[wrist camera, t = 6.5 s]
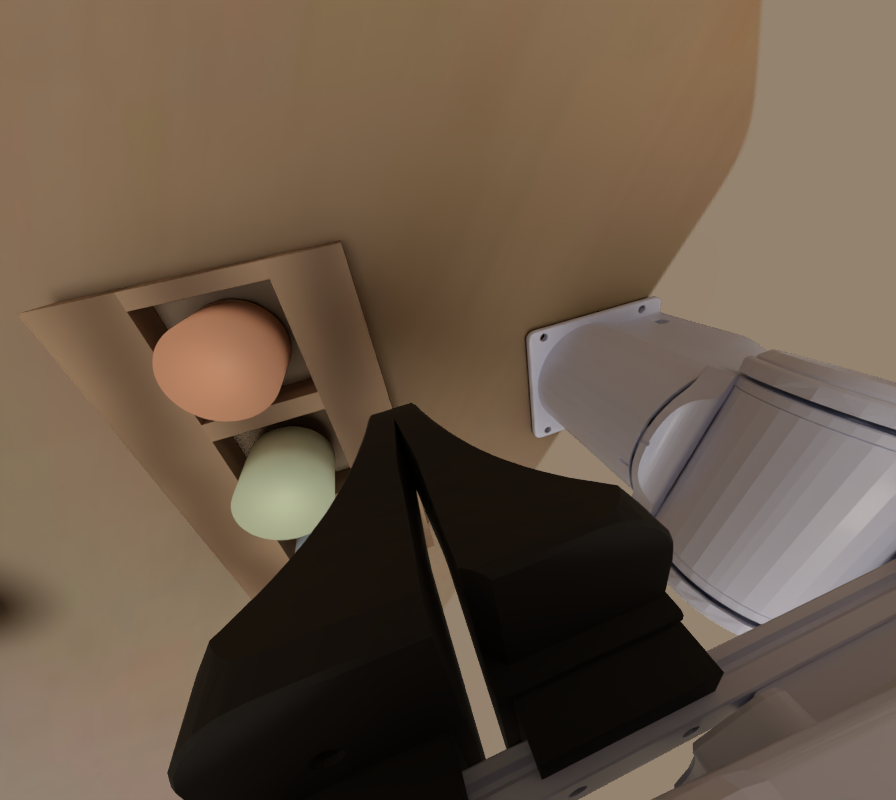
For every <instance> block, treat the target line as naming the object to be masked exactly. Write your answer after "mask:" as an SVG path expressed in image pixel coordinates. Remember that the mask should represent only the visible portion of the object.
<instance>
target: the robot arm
mask: <svg viewBox="0 0 896 800" xmlns="http://www.w3.org/2000/svg"><path fill="white" fill-rule="evenodd" d="M640 306H641V308H640ZM639 308H640V310H639ZM660 308H661V300H660V298H658V297H649V298H646V299H642V300H639V301H635V302H632V303H628V304H625V305H621V306H618V307H614V308H611V309H607V310H604V311H600V312H597V313H593V314H590V315H586V316H583V317H579V318H576V319H572V320H569V321H565V322H562V323H558V324H555V325H551V326H548V327H544V328H541V329H537V330H534V331H531V332H530V333H529V334H528V336H527V339H526V342H527V357H528V371H529V385H530V400H531V414H532V429H533V434H534V435H535V436H536V437H538V438H541V437H544V436H547V435H550V434H553V433H556V432H559V431H562V430H565V429H566V430H567V431H568V432H569V433H570V434H572V435H573V436H574V437H575V438H576V439H577V440H578V441H579V442H580V443H582V444H583V445H584V446H585V447H586V448H587V449H588V450H589V451H590V452H591V453H593V454H594V455H595V456H596V457H597V458H598V459H599V460H600V461H602V463H604V464H605V465H606V466H607V467H608V468H609V469H610V470H611V471H613V472H614V473H615V474H616V475H617V476H618V477H619V478H620V479H621V480H622V481H624V482H625V483H626V484H627V485H628V486H629V487H630V488H631V489H632V490H633V495H632V497H631V496H630V495H629V494H627V493H626V492H625V491H624V490H622V489H621V488H620V487H619V486H617V485H611V484H605V483H599V482H593V481H587V480H580V479H574V478H568V477H564V476H559V475H555V474H551V473H546V472H542V471H539V470H535V469H531V468H528V467H524V466H521V465H518V464H515V463H512V462H509V461H507V460H504V459H501V458H498V457H496V456H493V455H491V454H489V453H486V452H484V451H482V450H480V449H478V448H476V447H474V446H472V445H470V444H468V443H466V442H465V441H463V440H461V439H460V438H458V437H456V436H455V435H453V434H452V433H450V432H448V431H447V430H446V429H444V428H443V427H441V426H440V425H438V424H437V423H436V422H434V421H433V420H432V419H431V418H429V417H428V416H427V415H426V414H424V413H423V412H422V411H421V410H420V409H419V408H418V407H417V406H416V405H414V404H412V403H410V404H406V405H403V406H400V407H396V408H393V409H390V410H387V411H383V412H380V413H377V414H373V415H371V416H370V418H369V420H368V424H367V428H366V431H365V434H364V437H363V440H362V443H361V446H360V448H359V451H358V453H357V456H356V458H355V461H354V463H353V465H352V467H351V469H350V471H349V473H348V475H347V477H346V479H345V481H344V483H343V485H342V487H341V489H340V491H339V492H338V494H337V496H336V498H335V499H334V501H333V502H332V504H331V506H330V507H329V509H328V510H327V512H326V513H325V515H324V516H323V518H322V519H321V520H320V522H319V523H318V524H317V526H316V527H315V528H314V530H313V531H312V532H311V534H310V535H309V536H308V538H307V539H306V540H305V542H304V543H303V544H302V545H301V547H300V548H299V549H298V550H297V551H296V553H295V554H294V555H293V556H292V557H291V558H290V560H289V561H288V562H287V563H286V564H285V565H284V566H283V568H282V569H281V570H280V571H279V572H278V573H277V574H276V575H275V576H274V577H273V579H272V580H271V581H270V582H269V583H268V584H267V585H266V586H265V587H264V588H263V589H262V590H261V591H260V592H259V593H258V594H257V595H256V596H255V597H254V598H253V599H252V600H251V601H250V602H249V603H248V604H247V605H246V606H245V607H244V608H243V609H242V610H241V611H240V612H239V613H238V614H237V615H236V616H235V617H234V618H233V619H232V620H231V621H230V622H229V623H228V624H227V625H226V626H225V627H224V628H223V629H222V630H221V631H220V632H218V633H217V634H216V635H215V636H214V637H213V638H212V639H211V640H210V641H209V644H208V646H207V649H206V652H205V654H204V657H203V660H202V662H201V665H200V668H199V670H198V673H197V676H196V679H195V682H194V686H193V689H192V692H191V696H190V699H189V702H188V706H187V709H186V712H185V716H184V719H183V722H182V726H181V729H180V732H179V736H178V739H177V742H176V746H175V749H174V752H173V756H172V759H171V762H170V766H169V769H168V772H167V773H168V777H169V781H170V784H171V788H172V789H173V790H174V791H175V793H176V794H177V795H179V796H180V797H181V798H182V799H184V800H578V799H580V798H582V797H584V796H586V795H588V794H589V793H591V792H593V791H595V790H597V789H599V788H601V787H603V786H604V785H606V784H608V783H610V782H612V781H614V780H616V779H618V778H619V777H621V776H623V775H625V774H627V773H629V772H631V771H632V770H634V769H636V768H638V767H640V766H642V765H644V764H646V763H648V762H649V761H651V760H653V759H655V758H657V757H659V756H661V755H663V754H664V753H666V752H668V751H670V750H672V749H674V748H676V747H677V746H679V745H681V744H683V743H685V742H687V741H689V740H691V739H693V738H694V737H696V736H698V735H700V734H702V733H704V732H706V731H708V730H709V729H711V728H712V729H711V730H710V731H708V732H707V733H706V734H704V735H703V736H702V737H700V738H699V739H698V740H696V741H695V742H694V743H693V754H694V757H693V760H692V762H691V764H690V766H689V768H688V769H687V771H685V773H684V774H683V775H682V776H681V777H680V779H679V780H678V781H677V782H676V783H675V786H674V787H675V788H674V789H673V790H670V791H668V792H666V793H664V794H662V795H660V796H658V797H656V798H654V799H652V800H896V382H893V381H889V380H886V379H882V378H879V377H876V376H872V375H868V374H864V373H861V372H858V371H854V370H851V369H847V368H843V367H840V366H836V365H832V364H829V363H825V362H821V361H817V360H814V359H810V358H806V357H803V356H799V355H794V354H791V353H787V352H783V351H778V350H769V351H766V350H765V349H764V348H763V347H762V346H760V345H759V344H757V343H756V342H754V341H753V340H751V339H749V338H747V337H744V336H741V335H738V334H734V333H731V332H727V331H724V330H720V329H717V328H713V327H710V326H706V325H703V324H699V323H696V322H692V321H688V320H685V319H681V318H678V317H674V316H671V315H667V314H664V313H660ZM638 310H639V311H638ZM542 334H544V338H543V339H542V340H540V337H541V335H542ZM547 427H548V428H547ZM546 428H547V429H546ZM545 429H546V430H545ZM416 490H417V491H416ZM417 493H418V495H419V497H420V500H421V502H422V504H423V507H424V509H425V511H426V514H427V516H428V518H429V521H430V523H431V525H432V528H433V530H434V532H435V535H436V537H437V539H438V542H439V544H440V546H441V549H442V551H443V554H444V556H445V559H446V562H447V564H448V567H449V570H450V573H451V576H452V580H453V583H454V586H455V589H456V592H457V595H458V598H459V601H460V604H461V608H462V610H463V614H464V617H465V620H466V623H467V626H468V629H469V632H470V635H471V639H472V642H473V645H474V648H475V651H476V654H477V658H478V661H479V664H480V667H481V670H482V673H483V676H484V679H485V682H486V686H487V689H488V692H489V695H490V698H491V701H492V705H493V707H494V710H495V714H496V717H497V720H498V723H499V726H500V730H501V733H502V736H503V739H504V742H505V745H506V748H507V749H506V750H504V751H502V752H500V753H498V754H496V755H494V756H492V757H490V758H488V759H486V758H485V755H484V751H483V748H482V744H481V741H480V737H479V734H478V730H477V727H476V724H475V720H474V717H473V714H472V710H471V706H470V703H469V699H468V696H467V693H466V689H465V685H464V682H463V679H462V675H461V671H460V668H459V664H458V661H457V658H456V654H455V651H454V647H453V644H452V640H451V637H450V633H449V630H448V626H447V623H446V619H445V616H444V612H443V608H442V605H441V601H440V598H439V594H438V591H437V587H436V584H435V580H434V577H433V573H432V569H431V565H430V560H429V556H428V551H427V545H426V540H425V534H424V529H423V523H422V518H421V512H420V507H419V502H418V496H417ZM667 583H668V585H669V586H670V587H671V588H672V589H673V590H674V591H675V592H676V593H677V594H678V595H679V596H680V597H681V598H682V599H683V600H685V601H686V602H687V603H688V604H689V605H690V606H692V607H693V608H694V609H696V610H697V611H698V612H699V613H701V614H702V615H704V616H705V617H706V618H708V619H709V620H711V621H712V622H714V623H716V624H717V625H719V626H721V627H723V628H724V629H726V630H728V631H730V632H732V633H734V634H736V635H739V636H737V637H735V638H733V639H731V640H729V641H727V642H725V643H723V644H721V645H719V646H717V647H715V648H713V649H711V650H708V651H705V649H704V648H703V647H702V646H701V645H700V644H699V642H698V641H697V640H696V639H695V638H694V637H693V636H692V634H691V633H690V632H689V631H688V630H687V629H686V627H685V626H684V625H683V624H682V623H681V622H680V621H681V620H683V616H684V615H683V613H682V611H681V609H680V608H679V607H678V606H677V605H676V603H675V602H674V601H673V600H672V599H671V598H670V597H669V595H668V594H667V593H666V592H665V590H666V586H667ZM713 727H714V728H713Z"/></svg>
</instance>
